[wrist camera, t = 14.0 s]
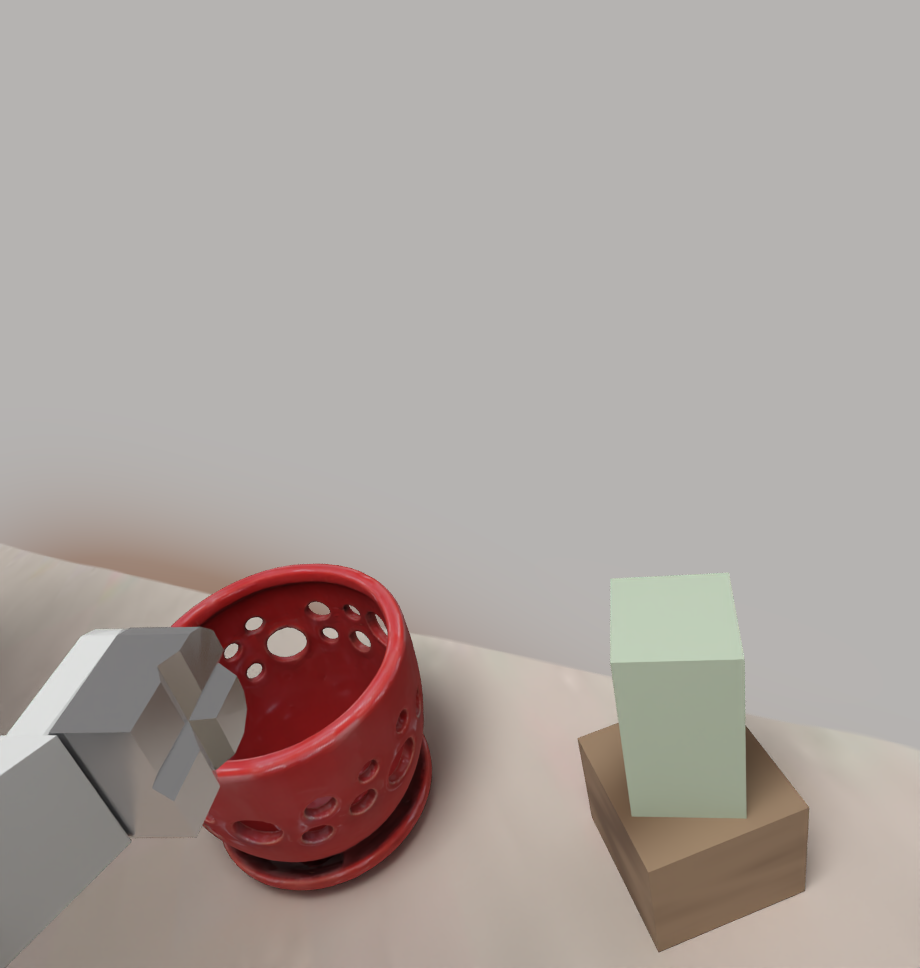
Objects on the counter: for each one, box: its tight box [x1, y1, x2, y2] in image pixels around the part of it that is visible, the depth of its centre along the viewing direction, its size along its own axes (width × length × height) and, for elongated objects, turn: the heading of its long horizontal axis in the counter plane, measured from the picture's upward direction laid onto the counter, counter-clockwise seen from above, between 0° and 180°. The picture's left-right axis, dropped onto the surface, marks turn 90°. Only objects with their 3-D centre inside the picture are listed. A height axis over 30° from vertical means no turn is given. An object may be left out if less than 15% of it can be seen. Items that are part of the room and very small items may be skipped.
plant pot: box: [171, 564, 432, 890], centre depth 41 cm, size 13×13×12 cm
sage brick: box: [610, 573, 747, 819], centre depth 32 cm, size 4×4×9 cm
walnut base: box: [578, 723, 809, 952], centre depth 36 cm, size 7×7×6 cm
